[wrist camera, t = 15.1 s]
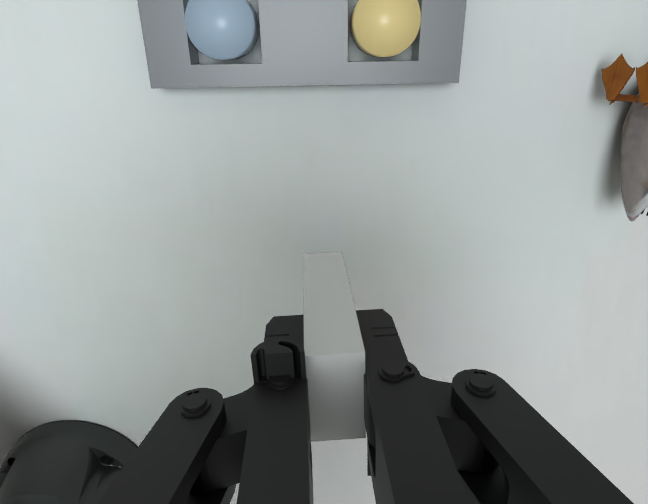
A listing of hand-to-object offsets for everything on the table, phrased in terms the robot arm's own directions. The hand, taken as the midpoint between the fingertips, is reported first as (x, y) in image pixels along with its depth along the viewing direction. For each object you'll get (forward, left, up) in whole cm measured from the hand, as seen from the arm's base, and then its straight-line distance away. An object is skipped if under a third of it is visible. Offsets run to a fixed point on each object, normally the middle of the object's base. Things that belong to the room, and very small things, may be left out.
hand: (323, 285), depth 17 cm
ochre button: (+5, +10, -21) cm, 24 cm away
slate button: (-6, +10, -21) cm, 24 cm away
